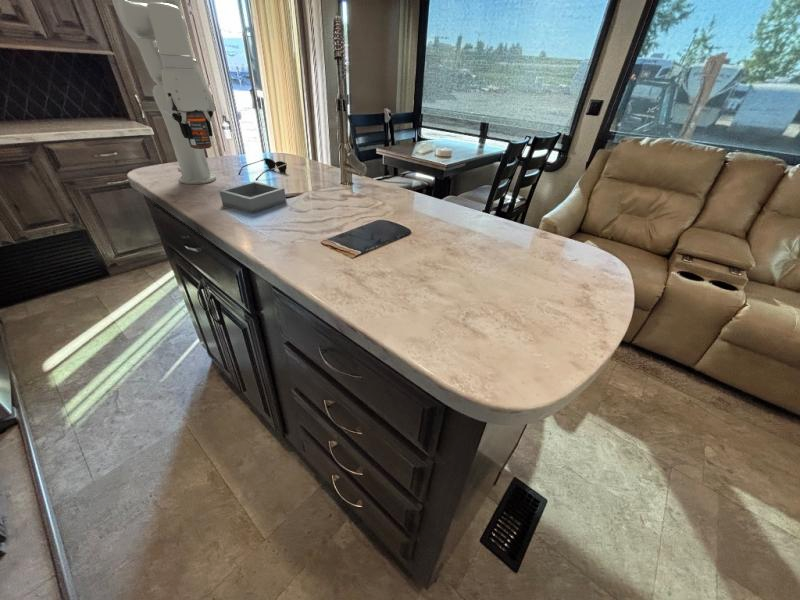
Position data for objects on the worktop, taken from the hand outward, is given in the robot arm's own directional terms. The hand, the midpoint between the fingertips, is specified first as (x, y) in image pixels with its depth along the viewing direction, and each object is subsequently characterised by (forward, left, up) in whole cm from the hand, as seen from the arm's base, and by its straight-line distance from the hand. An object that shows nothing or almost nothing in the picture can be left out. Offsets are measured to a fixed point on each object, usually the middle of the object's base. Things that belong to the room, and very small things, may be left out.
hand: (198, 136), depth 99 cm
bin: (+13, +5, -19) cm, 24 cm away
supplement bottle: (0, 0, -3) cm, 3 cm away
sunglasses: (-13, +32, -20) cm, 40 cm away
